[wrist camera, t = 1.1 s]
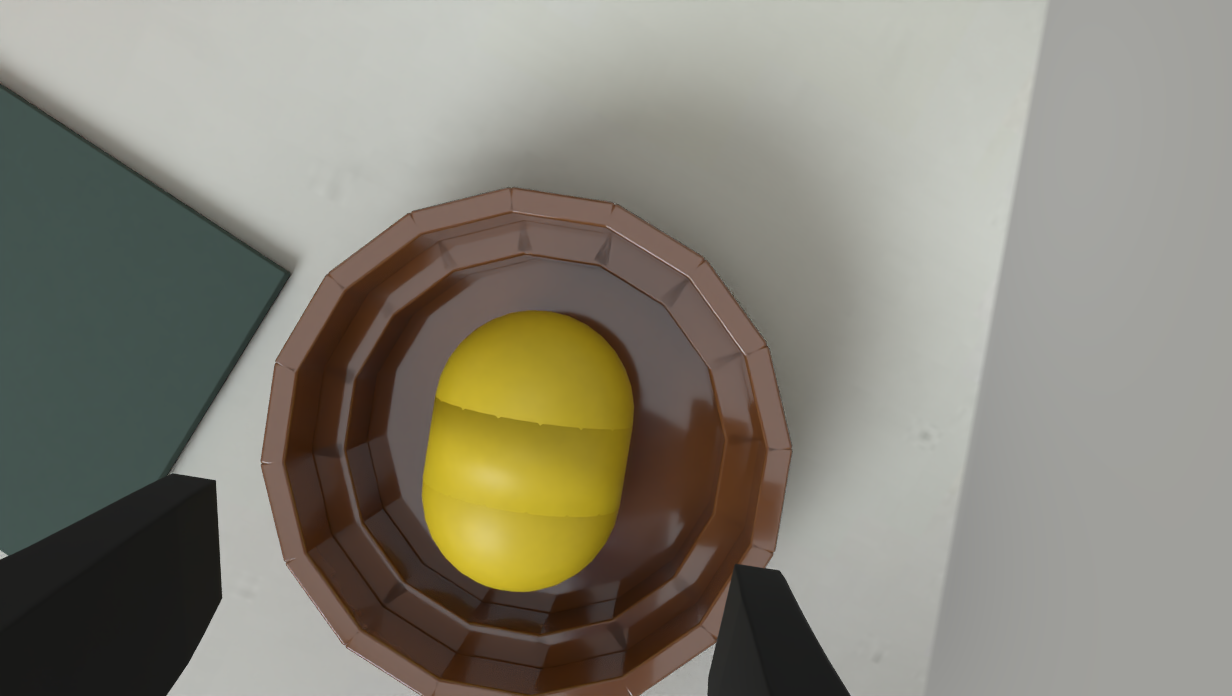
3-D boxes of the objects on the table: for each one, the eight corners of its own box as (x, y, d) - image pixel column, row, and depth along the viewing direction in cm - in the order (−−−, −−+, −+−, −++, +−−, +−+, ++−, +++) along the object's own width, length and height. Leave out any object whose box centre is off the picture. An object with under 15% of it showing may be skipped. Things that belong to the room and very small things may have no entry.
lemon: (610, 576, 25) (596, 637, 20) (435, 545, 25) (380, 598, 21) (651, 326, 25) (646, 328, 20) (474, 297, 25) (427, 293, 20)
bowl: (729, 691, 26) (740, 760, 22) (296, 612, 26) (229, 665, 22) (804, 248, 25) (829, 235, 21) (360, 179, 26) (304, 153, 22)
